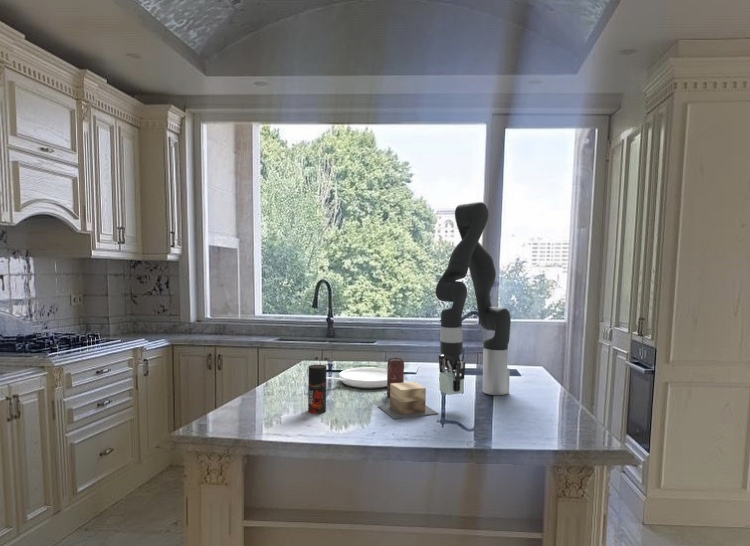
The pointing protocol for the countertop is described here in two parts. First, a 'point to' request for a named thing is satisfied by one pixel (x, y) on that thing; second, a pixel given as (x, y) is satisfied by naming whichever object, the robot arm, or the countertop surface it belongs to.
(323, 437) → the countertop surface
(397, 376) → the can
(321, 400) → the deodorant
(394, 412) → the mat
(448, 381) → the cube
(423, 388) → the block top
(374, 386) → the pan
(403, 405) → the block bottom
